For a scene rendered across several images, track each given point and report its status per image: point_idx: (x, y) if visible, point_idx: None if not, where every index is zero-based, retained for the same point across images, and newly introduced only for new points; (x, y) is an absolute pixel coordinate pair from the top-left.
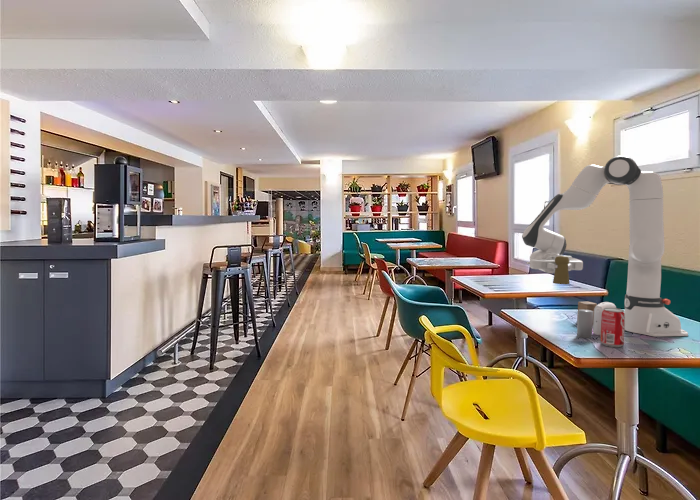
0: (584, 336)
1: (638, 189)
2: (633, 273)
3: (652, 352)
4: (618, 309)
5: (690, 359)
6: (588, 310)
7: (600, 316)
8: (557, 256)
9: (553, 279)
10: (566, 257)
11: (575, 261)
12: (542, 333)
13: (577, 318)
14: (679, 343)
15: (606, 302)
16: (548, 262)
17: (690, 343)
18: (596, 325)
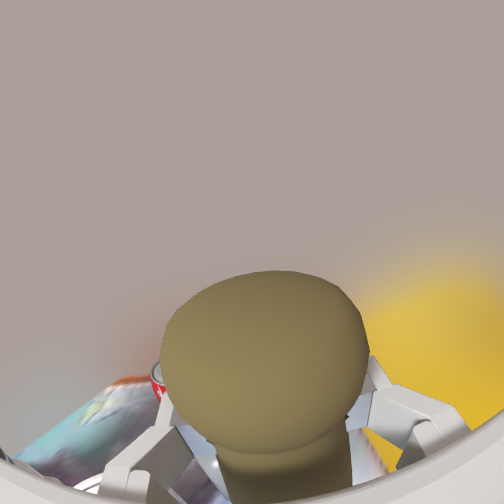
0: None
1: None
2: None
3: (152, 401)
4: (153, 378)
5: (122, 380)
6: (204, 457)
7: None
8: (329, 304)
9: (351, 478)
10: (219, 282)
11: (17, 470)
12: (368, 476)
13: None
14: (57, 443)
15: (93, 487)
16: (456, 445)
17: (41, 441)
18: (182, 499)
